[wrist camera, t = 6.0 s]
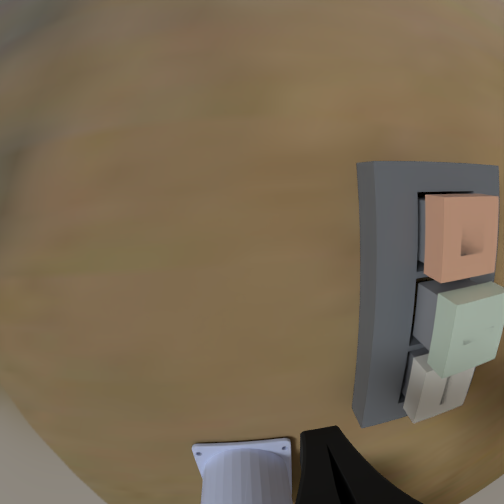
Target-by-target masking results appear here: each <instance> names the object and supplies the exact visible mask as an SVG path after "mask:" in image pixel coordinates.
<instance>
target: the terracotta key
mask: <svg viewBox="0 0 504 504" xmlns="http://www.w3.org/2000/svg"><path fill="white" fill-rule="evenodd" d="M498 213H499V196H493V195H486V194H430V195H425V197H418V251H417V260H419V261H421V262H423V263H424V274H425V275H427V276H429V277H431V278H432V279H434V280H436V281H437V282H439V283H445V282H451V281H456V280H461V279H465V278H470V277H475V276H480V275H484V274H489V273H493V272H494V271H495V262H496V251H497V237H498Z"/></svg>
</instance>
